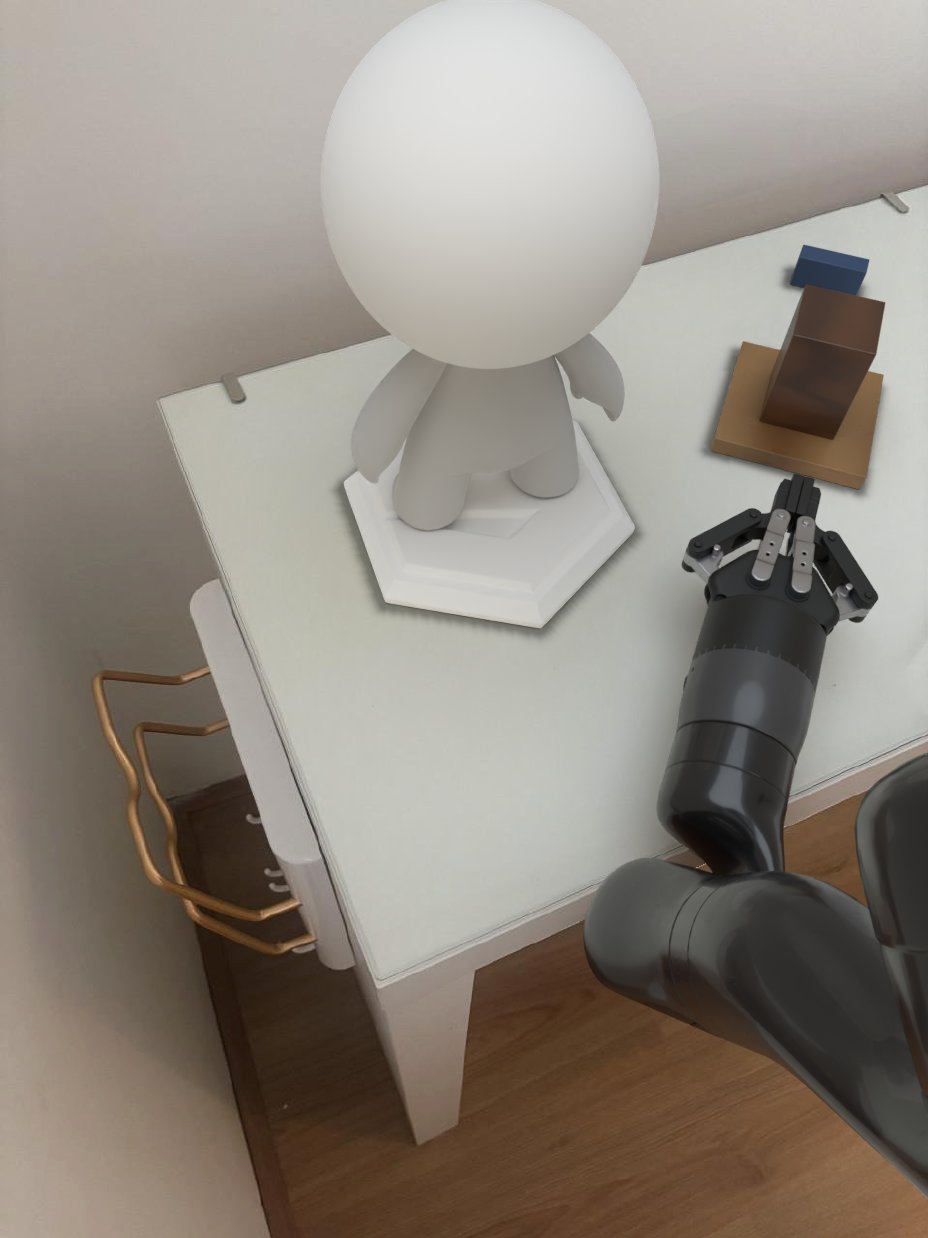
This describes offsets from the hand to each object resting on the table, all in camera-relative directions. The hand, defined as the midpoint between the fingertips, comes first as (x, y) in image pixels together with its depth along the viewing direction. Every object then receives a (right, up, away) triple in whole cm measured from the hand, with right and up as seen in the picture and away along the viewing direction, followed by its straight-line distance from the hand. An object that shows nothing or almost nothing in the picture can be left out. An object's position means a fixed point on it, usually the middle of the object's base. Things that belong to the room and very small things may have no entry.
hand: (799, 483), depth 65 cm
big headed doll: (-22, -1, +7) cm, 23 cm away
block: (+4, +7, +12) cm, 15 cm away
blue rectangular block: (+10, +22, +21) cm, 32 cm away
